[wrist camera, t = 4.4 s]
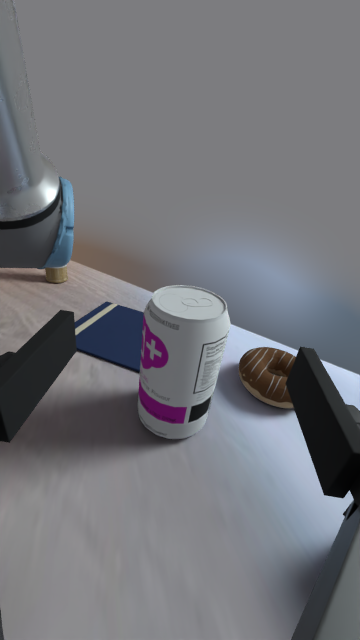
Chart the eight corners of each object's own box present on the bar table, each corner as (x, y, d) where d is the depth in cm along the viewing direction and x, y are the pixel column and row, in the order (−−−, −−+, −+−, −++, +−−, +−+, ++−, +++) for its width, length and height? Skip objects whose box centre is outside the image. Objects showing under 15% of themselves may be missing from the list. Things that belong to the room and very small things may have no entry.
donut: (221, 367, 41) (227, 345, 39) (277, 357, 45) (284, 337, 43) (265, 424, 33) (275, 400, 31) (328, 405, 37) (340, 383, 35)
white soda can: (144, 449, 28) (155, 325, 21) (133, 391, 35) (139, 282, 28) (216, 437, 31) (249, 321, 23) (193, 385, 37) (213, 282, 30)
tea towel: (50, 340, 42) (50, 338, 42) (106, 303, 55) (106, 301, 54) (171, 383, 37) (171, 381, 37) (202, 331, 50) (202, 329, 49)
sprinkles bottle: (49, 285, 58) (41, 219, 52) (43, 277, 61) (35, 213, 55) (71, 282, 61) (66, 218, 54) (64, 274, 64) (59, 214, 57)
